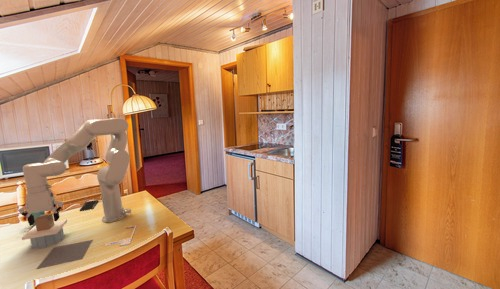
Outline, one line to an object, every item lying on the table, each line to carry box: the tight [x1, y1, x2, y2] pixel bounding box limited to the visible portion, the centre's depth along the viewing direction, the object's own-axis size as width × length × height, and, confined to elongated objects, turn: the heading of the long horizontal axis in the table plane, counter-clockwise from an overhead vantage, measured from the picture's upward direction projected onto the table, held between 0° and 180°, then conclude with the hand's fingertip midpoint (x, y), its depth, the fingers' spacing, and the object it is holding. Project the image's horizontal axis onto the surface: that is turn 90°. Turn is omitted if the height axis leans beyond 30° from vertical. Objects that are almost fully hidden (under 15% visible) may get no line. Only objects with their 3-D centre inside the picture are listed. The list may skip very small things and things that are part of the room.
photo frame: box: [104, 225, 137, 247], centre depth 116 cm, size 15×1×18 cm
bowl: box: [29, 226, 65, 250], centre depth 113 cm, size 12×12×6 cm
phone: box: [79, 199, 99, 212], centre depth 157 cm, size 8×1×15 cm
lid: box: [21, 212, 68, 241], centre depth 112 cm, size 13×13×7 cm
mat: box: [36, 239, 94, 270], centre depth 103 cm, size 16×16×1 cm
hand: (44, 222), depth 112 cm, fingers open, 9 cm apart
